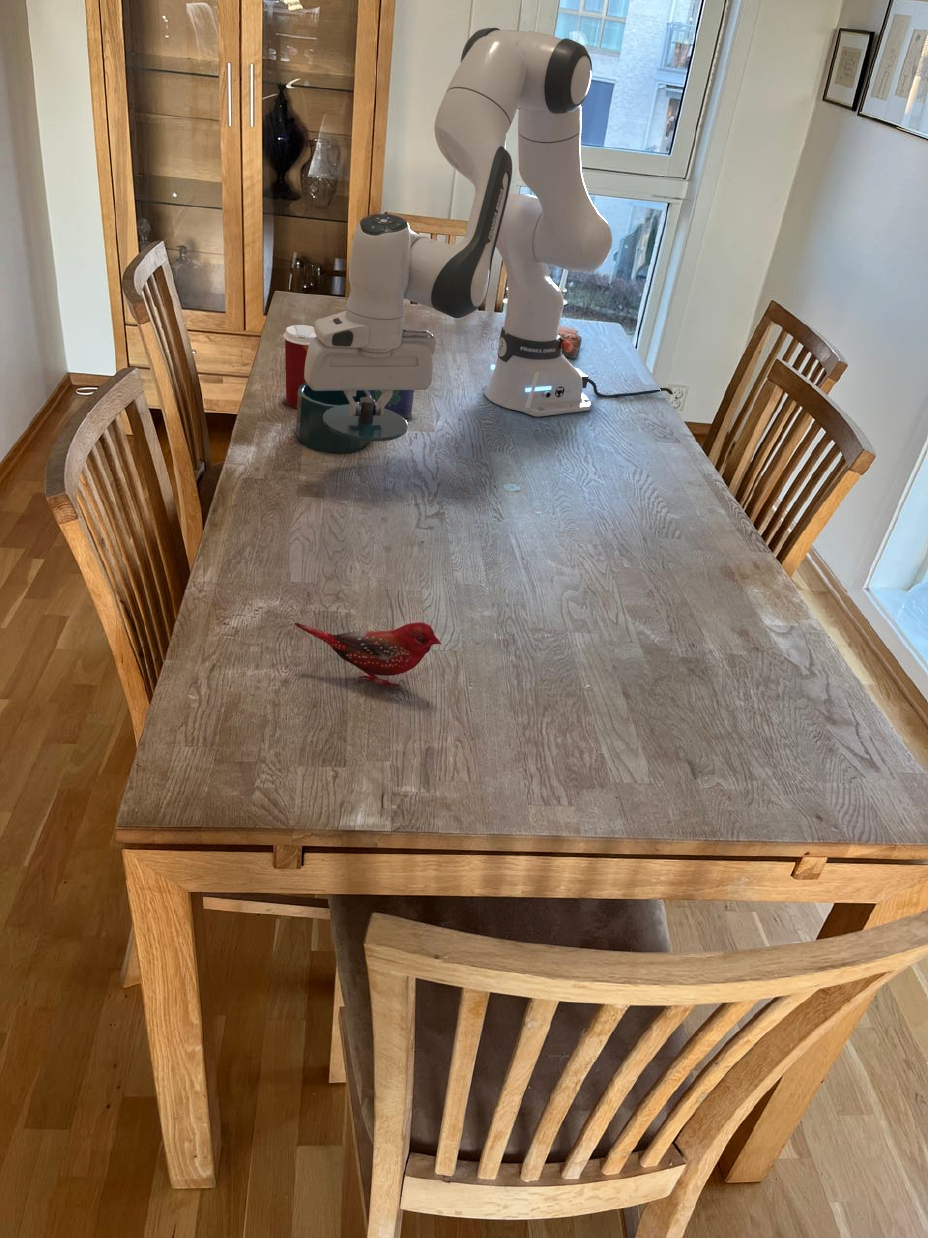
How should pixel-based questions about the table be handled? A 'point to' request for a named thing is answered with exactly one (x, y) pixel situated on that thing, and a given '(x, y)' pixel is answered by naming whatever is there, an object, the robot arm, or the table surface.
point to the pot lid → (365, 422)
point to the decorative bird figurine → (381, 648)
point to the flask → (397, 401)
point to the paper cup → (296, 359)
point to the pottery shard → (570, 340)
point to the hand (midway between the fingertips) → (365, 414)
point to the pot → (311, 420)
